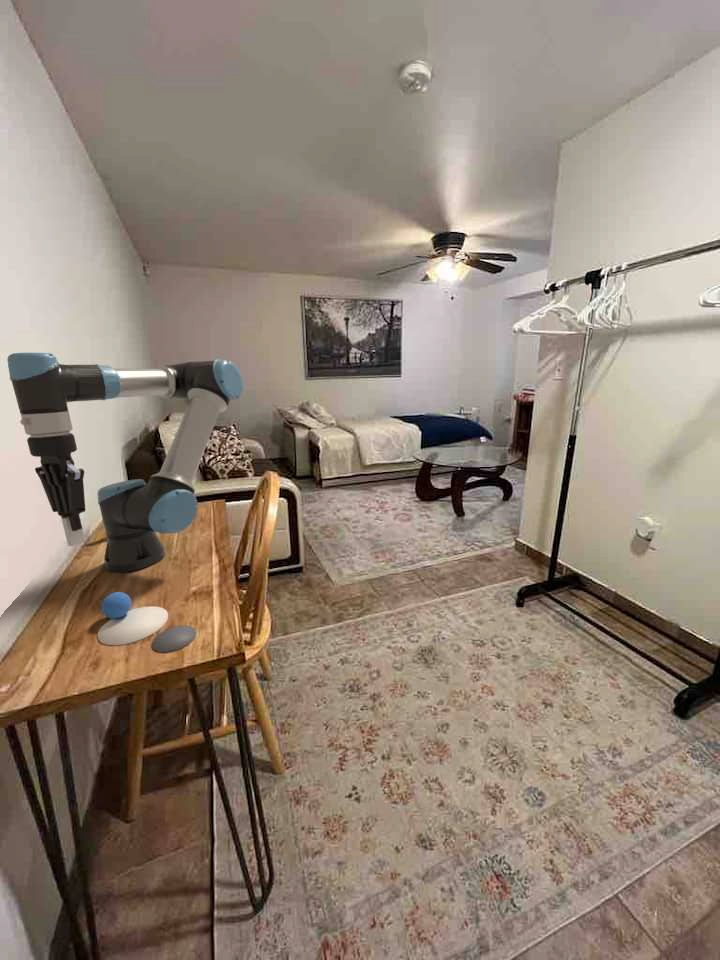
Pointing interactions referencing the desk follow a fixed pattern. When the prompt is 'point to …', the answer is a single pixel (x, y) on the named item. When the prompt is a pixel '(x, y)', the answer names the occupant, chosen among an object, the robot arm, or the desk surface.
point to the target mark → (133, 626)
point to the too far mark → (174, 638)
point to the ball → (116, 605)
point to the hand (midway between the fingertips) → (76, 543)
